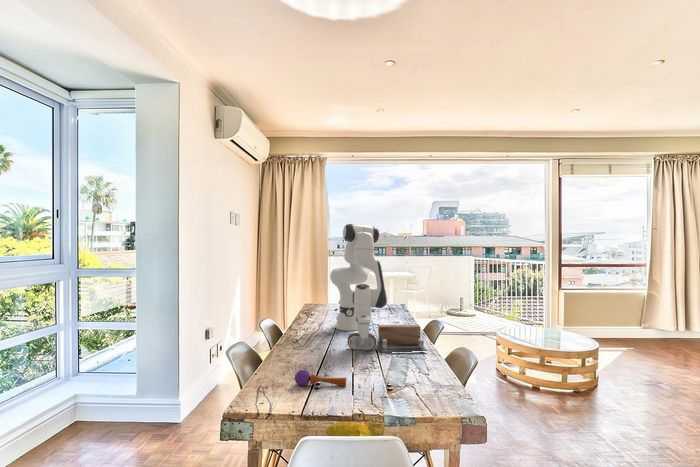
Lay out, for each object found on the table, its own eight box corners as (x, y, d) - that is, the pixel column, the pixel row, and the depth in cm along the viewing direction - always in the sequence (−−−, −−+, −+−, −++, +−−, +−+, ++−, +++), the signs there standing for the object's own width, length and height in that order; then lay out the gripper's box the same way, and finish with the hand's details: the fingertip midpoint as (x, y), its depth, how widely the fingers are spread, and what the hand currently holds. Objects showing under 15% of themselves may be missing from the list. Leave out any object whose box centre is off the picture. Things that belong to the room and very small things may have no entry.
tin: (376, 349, 180) (376, 333, 180) (376, 351, 177) (376, 335, 177) (347, 348, 182) (347, 332, 182) (347, 350, 179) (347, 333, 179)
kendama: (346, 379, 131) (294, 374, 132) (345, 394, 132) (293, 388, 133) (347, 371, 137) (297, 365, 138) (345, 384, 138) (296, 379, 139)
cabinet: (377, 344, 190) (377, 324, 190) (418, 343, 191) (418, 324, 191) (382, 353, 174) (382, 332, 174) (427, 353, 175) (427, 332, 175)
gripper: (354, 312, 190) (354, 337, 190) (358, 320, 170) (357, 349, 169) (366, 311, 190) (365, 337, 190) (370, 320, 170) (370, 349, 170)
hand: (361, 342), depth 180 cm, fingers closed on tin, 3 cm apart
